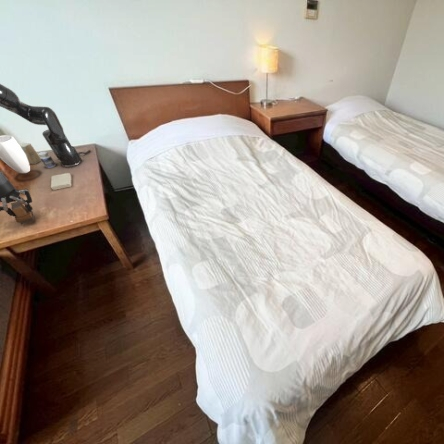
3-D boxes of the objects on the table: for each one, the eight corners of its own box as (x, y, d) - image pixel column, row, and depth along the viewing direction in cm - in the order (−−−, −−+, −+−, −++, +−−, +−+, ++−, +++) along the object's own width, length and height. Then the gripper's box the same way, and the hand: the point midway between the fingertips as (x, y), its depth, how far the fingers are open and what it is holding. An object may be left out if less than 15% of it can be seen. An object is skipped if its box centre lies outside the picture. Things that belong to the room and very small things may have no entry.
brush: (19, 214, 114) (7, 202, 109) (33, 210, 117) (22, 198, 112) (20, 225, 110) (8, 212, 105) (35, 221, 112) (24, 208, 107)
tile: (53, 179, 138) (51, 176, 137) (71, 175, 142) (69, 172, 141) (53, 190, 131) (50, 187, 130) (71, 186, 135) (69, 183, 134)
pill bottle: (48, 168, 145) (39, 156, 139) (44, 166, 147) (35, 153, 141) (57, 165, 148) (49, 152, 142) (53, 163, 150) (45, 150, 144)
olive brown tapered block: (35, 164, 147) (23, 146, 140) (28, 163, 147) (15, 146, 140) (42, 159, 151) (30, 142, 144) (35, 159, 151) (22, 142, 144)
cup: (39, 168, 144) (13, 133, 130) (41, 177, 139) (14, 140, 124) (15, 174, 139) (-15, 137, 124) (16, 182, 133) (-15, 145, 119)
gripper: (17, 172, 105) (42, 203, 117) (-31, 182, 98) (0, 214, 109) (18, 180, 102) (44, 211, 113) (-32, 192, 94) (1, 224, 106)
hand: (22, 212), depth 111 cm, fingers closed on brush, 5 cm apart
